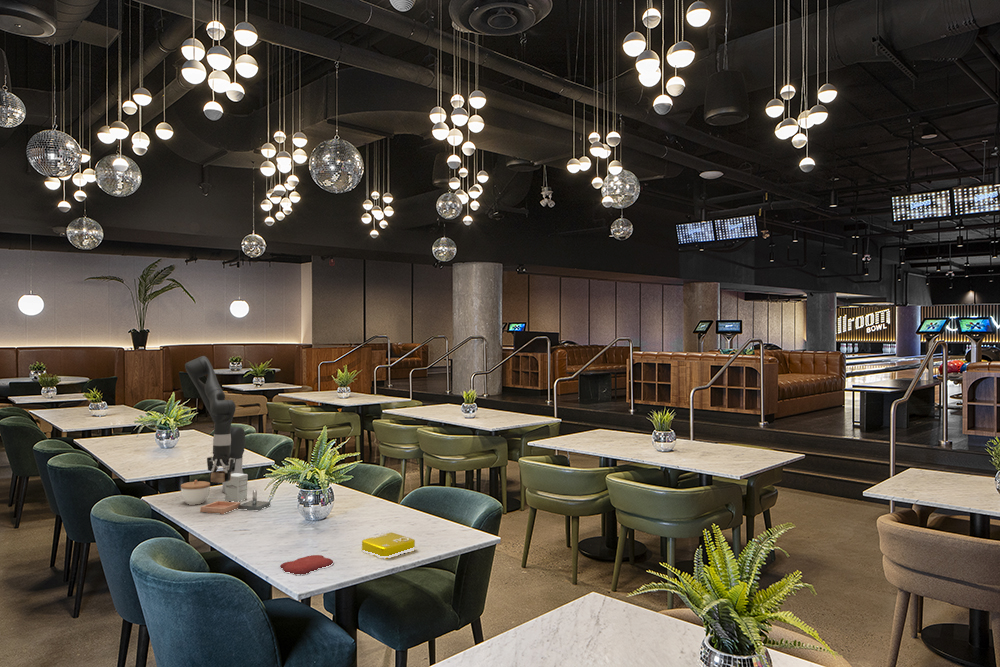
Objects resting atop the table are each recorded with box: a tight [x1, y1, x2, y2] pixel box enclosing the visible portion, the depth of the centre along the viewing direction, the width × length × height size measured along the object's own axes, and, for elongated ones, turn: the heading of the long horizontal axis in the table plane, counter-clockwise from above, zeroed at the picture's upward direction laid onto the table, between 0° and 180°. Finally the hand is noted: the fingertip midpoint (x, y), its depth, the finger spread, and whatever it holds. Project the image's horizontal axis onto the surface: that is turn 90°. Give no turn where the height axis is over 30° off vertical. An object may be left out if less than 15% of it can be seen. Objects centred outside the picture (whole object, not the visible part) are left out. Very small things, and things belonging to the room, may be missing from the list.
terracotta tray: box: [199, 500, 242, 515], centre depth 287 cm, size 12×12×2 cm
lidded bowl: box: [180, 479, 211, 506], centre depth 300 cm, size 13×13×11 cm
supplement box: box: [224, 473, 249, 502], centre depth 306 cm, size 7×7×13 cm
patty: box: [280, 554, 334, 575], centre depth 216 cm, size 18×14×2 cm
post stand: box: [237, 489, 271, 511], centre depth 292 cm, size 10×10×8 cm
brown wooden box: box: [210, 470, 231, 484], centre depth 288 cm, size 6×6×4 cm
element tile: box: [361, 532, 416, 556], centre depth 234 cm, size 15×15×5 cm
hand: (220, 480), depth 288 cm, fingers closed on brown wooden box, 6 cm apart
